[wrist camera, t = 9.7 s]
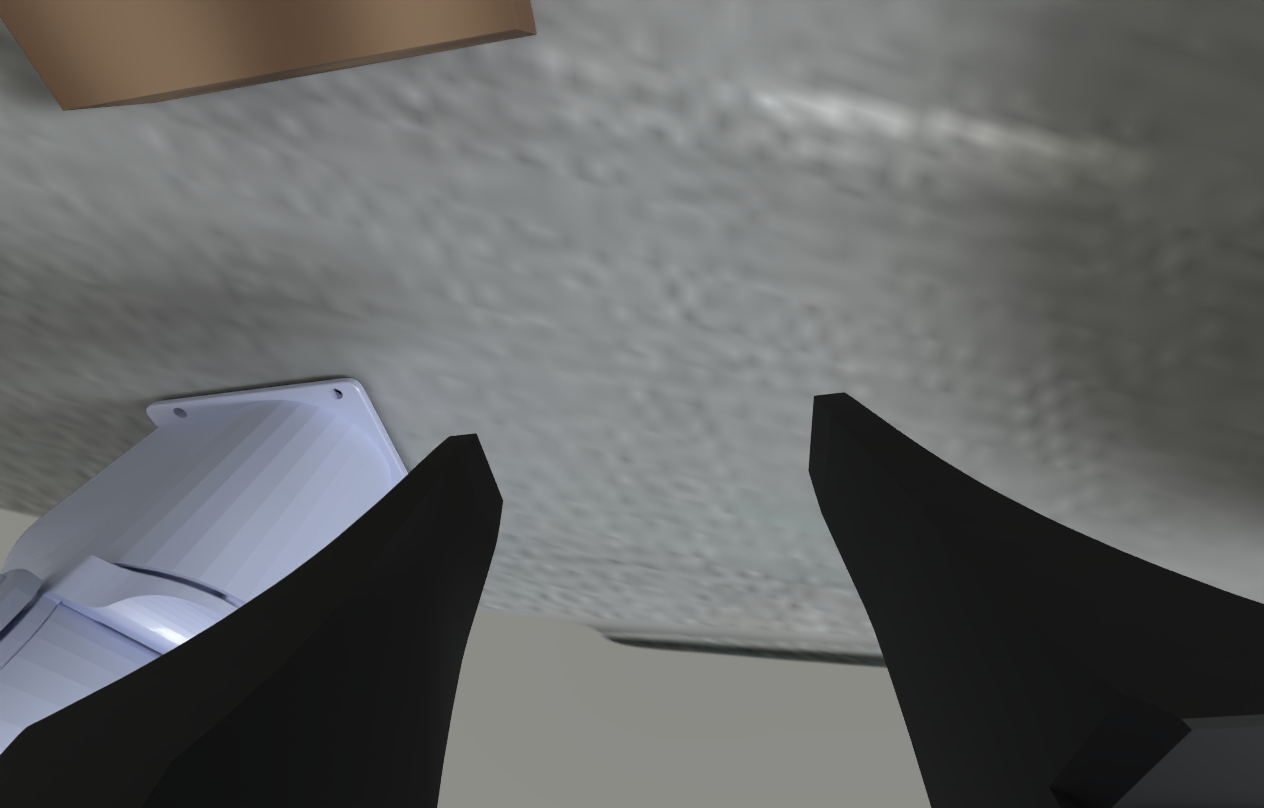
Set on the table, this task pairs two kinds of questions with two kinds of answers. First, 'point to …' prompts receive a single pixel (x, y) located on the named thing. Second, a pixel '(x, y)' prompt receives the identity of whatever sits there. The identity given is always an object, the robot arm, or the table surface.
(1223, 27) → the table surface
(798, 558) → the table surface
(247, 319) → the table surface
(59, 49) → the walnut base
